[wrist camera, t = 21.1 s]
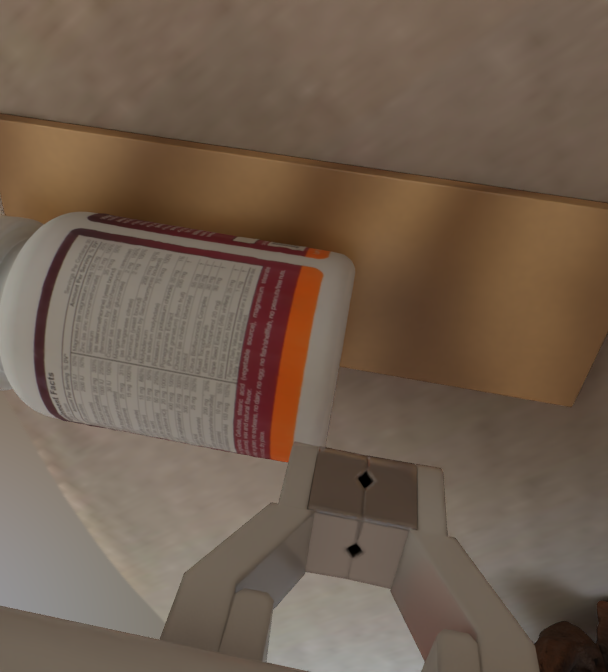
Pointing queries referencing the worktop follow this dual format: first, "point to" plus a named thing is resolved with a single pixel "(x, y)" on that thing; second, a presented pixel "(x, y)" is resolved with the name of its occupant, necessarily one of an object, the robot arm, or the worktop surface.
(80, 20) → the worktop surface
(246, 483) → the worktop surface
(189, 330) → the pill bottle
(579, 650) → the pottery mug
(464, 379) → the wooden board
